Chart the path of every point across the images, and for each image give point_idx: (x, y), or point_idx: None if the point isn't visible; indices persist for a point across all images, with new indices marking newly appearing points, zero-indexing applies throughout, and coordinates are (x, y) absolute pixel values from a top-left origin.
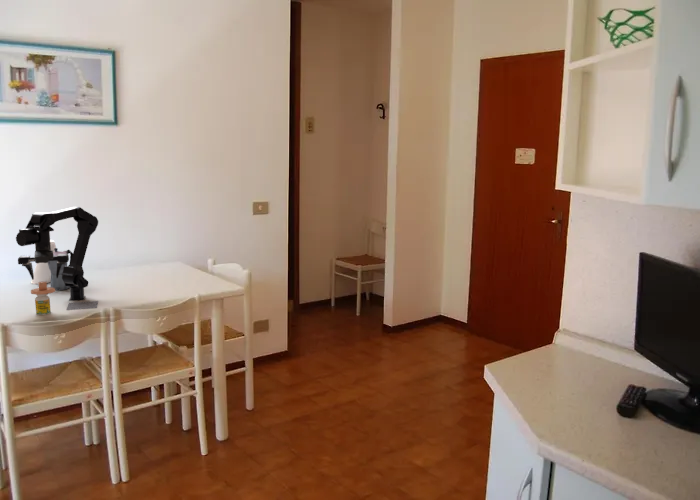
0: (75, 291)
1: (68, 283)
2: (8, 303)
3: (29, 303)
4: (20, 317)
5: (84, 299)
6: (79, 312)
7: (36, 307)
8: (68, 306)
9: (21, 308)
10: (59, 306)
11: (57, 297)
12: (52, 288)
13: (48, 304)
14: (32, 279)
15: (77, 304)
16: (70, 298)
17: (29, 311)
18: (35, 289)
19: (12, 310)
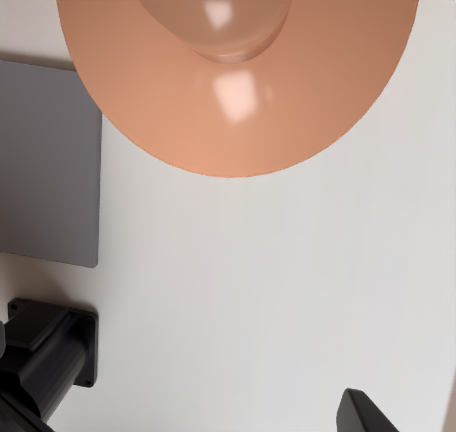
0: (14, 342)
1: (21, 428)
2: (425, 425)
3: (315, 376)
4: (422, 33)
5: (9, 304)
6: (12, 2)
7: None
8: (89, 173)
9: (375, 286)
10: (150, 233)
11: (164, 428)
12: (96, 47)
13: None
14: (361, 391)
15: (37, 202)
16: (90, 360)
17: (338, 187)
18: (334, 82)
19: (436, 262)
